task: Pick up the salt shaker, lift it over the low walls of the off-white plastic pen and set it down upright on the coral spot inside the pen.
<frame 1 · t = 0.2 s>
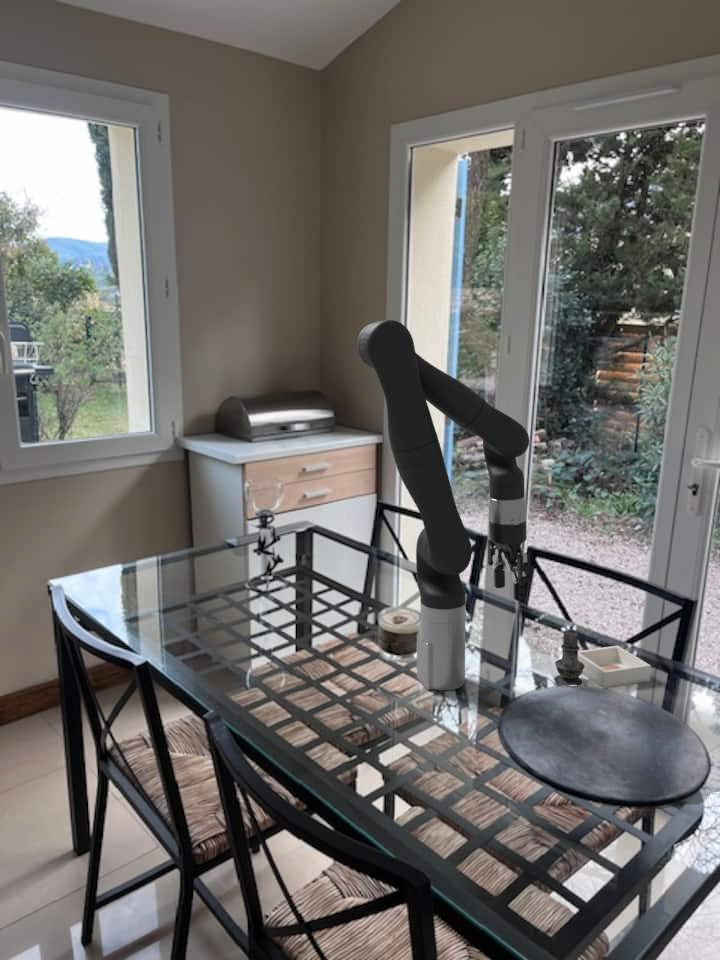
hand: (509, 593, 150), 18 cm above the table, tool pointing down, fingers open, 8 cm apart
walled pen: (610, 674, 152), on the table
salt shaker: (569, 681, 149), on the table
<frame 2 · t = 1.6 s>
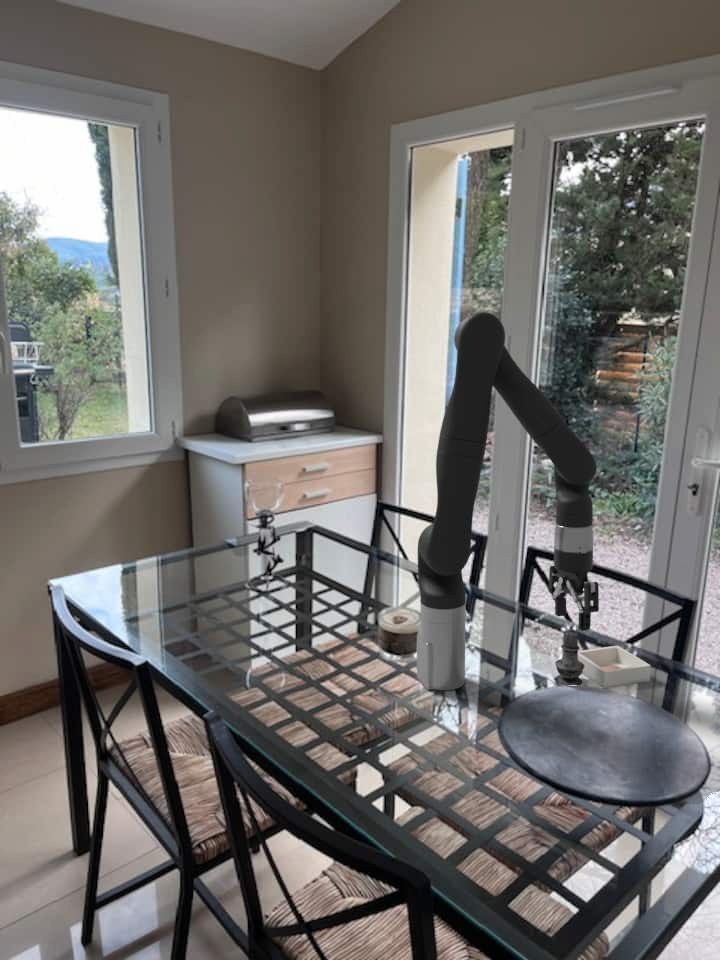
hand: (572, 622, 147), 13 cm above the table, tool pointing down, fingers open, 8 cm apart
nothing on the table moved.
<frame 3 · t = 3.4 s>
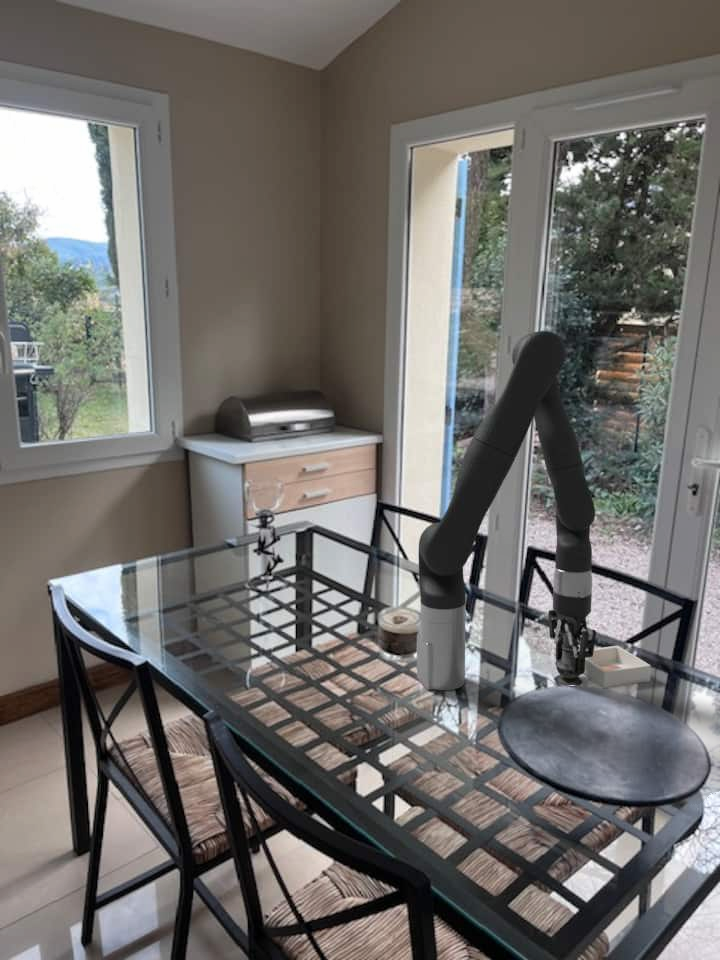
hand: (569, 667, 149), 3 cm above the table, tool pointing down, fingers closed on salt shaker, 6 cm apart
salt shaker: (569, 681, 149), on the table, touching gripper
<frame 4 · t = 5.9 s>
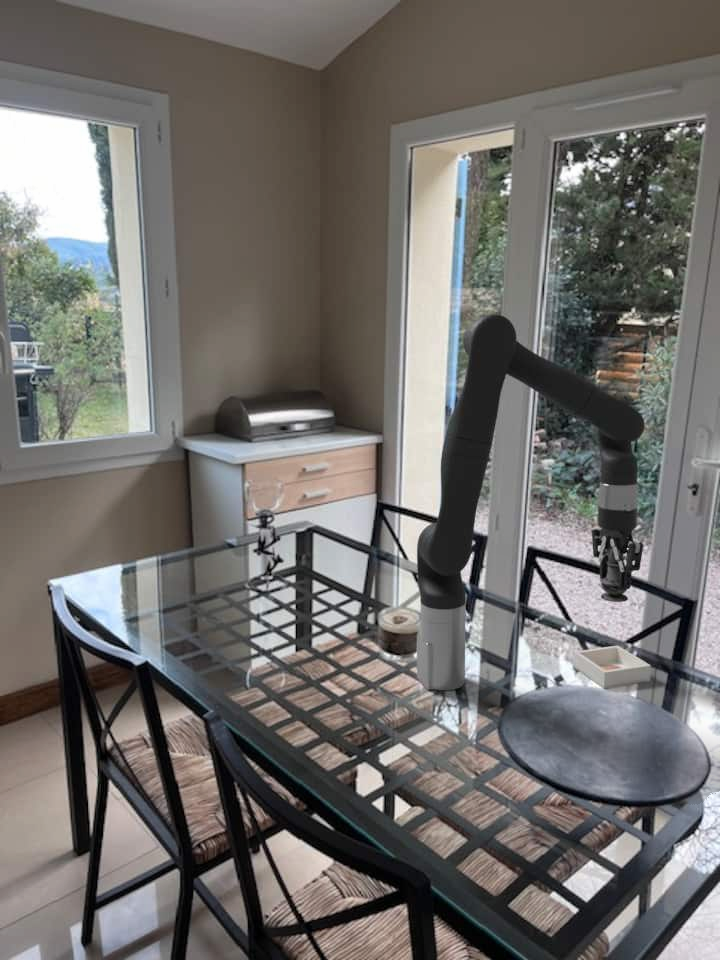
hand: (614, 583, 149), 20 cm above the table, tool pointing down, fingers closed on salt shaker, 6 cm apart
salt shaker: (614, 598, 149), point 17 cm above the table, touching gripper
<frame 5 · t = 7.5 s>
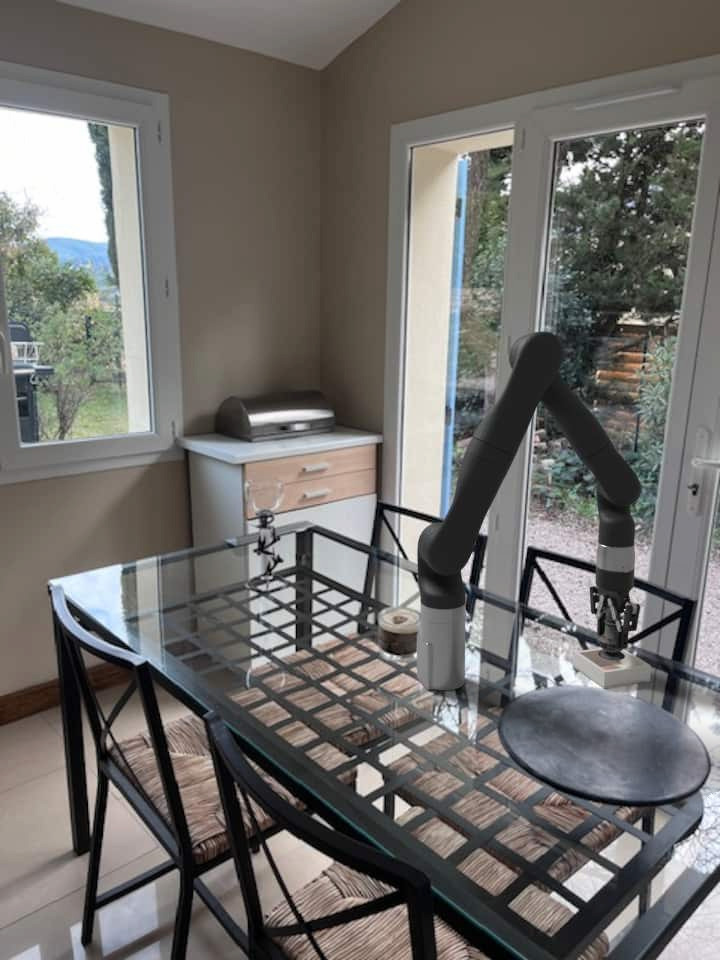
hand: (611, 641, 151), 7 cm above the table, tool pointing down, fingers closed on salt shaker, 6 cm apart
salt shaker: (611, 656, 151), point 4 cm above the table, touching gripper
when the fingers open (5 cm above the table, at t = 8.8 s): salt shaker drops 1 cm, resting on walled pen.
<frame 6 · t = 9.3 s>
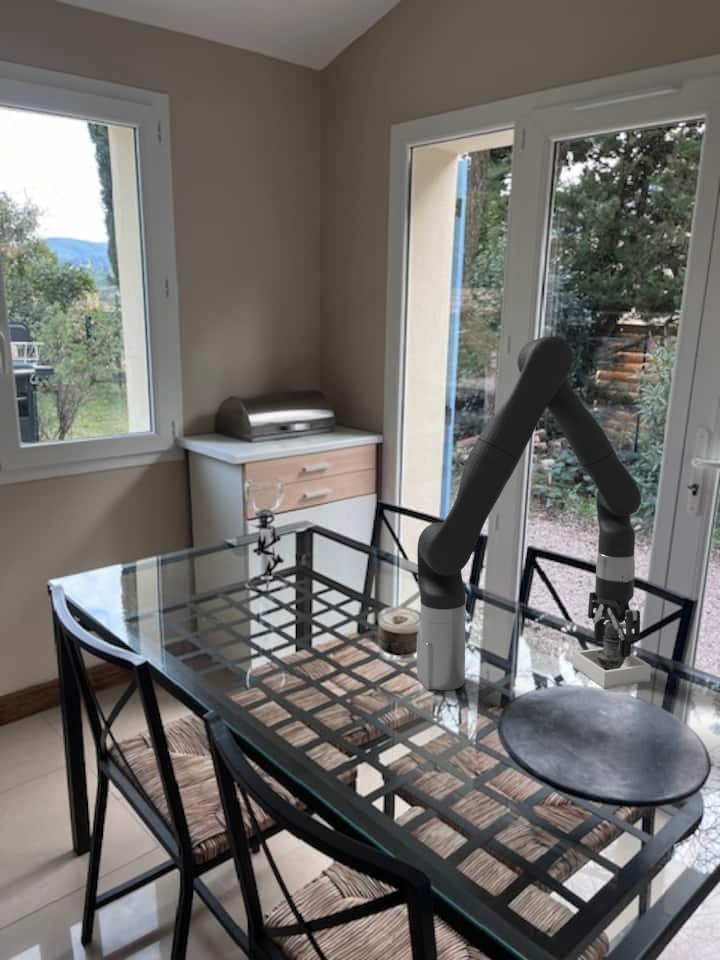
hand: (611, 648, 151), 6 cm above the table, tool pointing down, fingers open, 8 cm apart
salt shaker: (610, 672, 152), resting on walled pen
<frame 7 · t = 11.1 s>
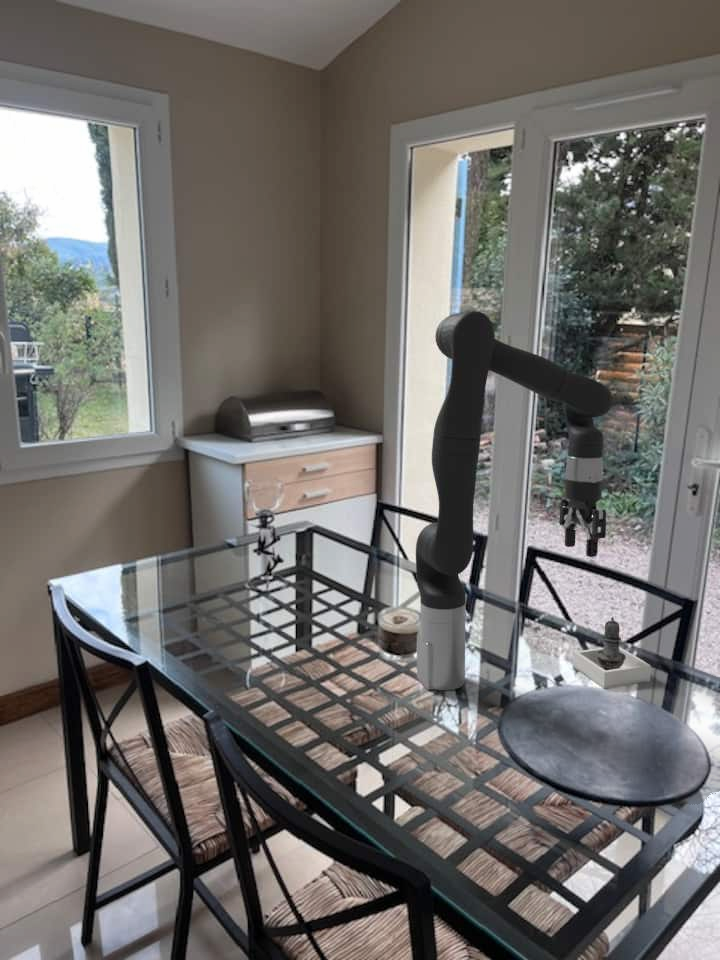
hand: (580, 551, 155), 25 cm above the table, tool pointing down, fingers open, 8 cm apart
nothing on the table moved.
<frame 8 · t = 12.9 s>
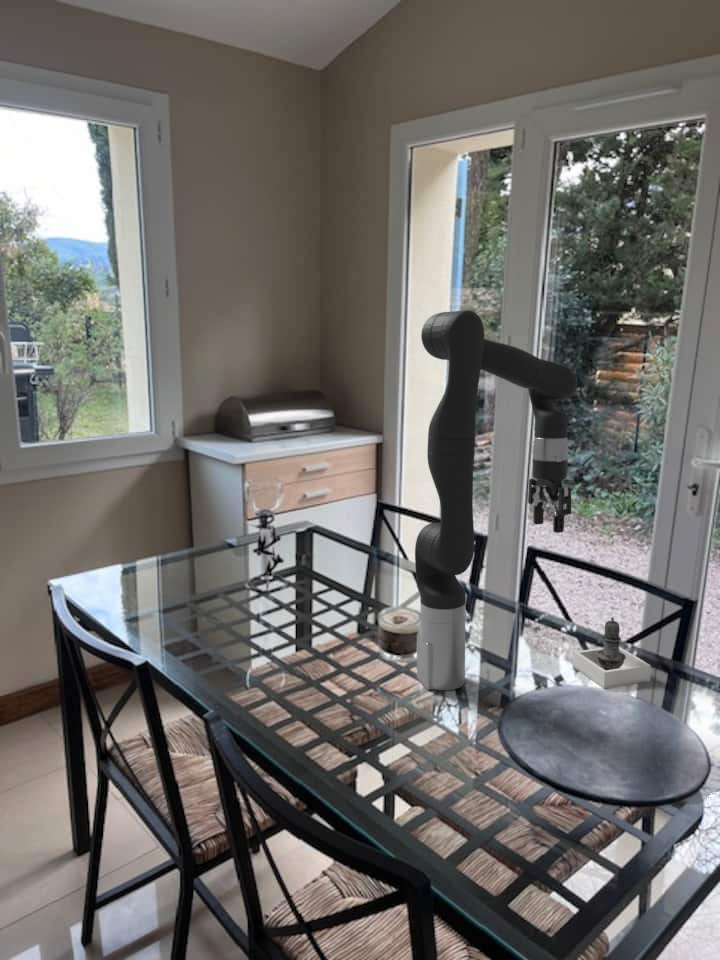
hand: (548, 528, 163), 28 cm above the table, tool pointing down, fingers open, 8 cm apart
nothing on the table moved.
at the end: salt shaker 0.1 cm off-centre on the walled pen, point 0.4 cm above the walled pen's base; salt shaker tilted 0°; the gripper is holding nothing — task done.
